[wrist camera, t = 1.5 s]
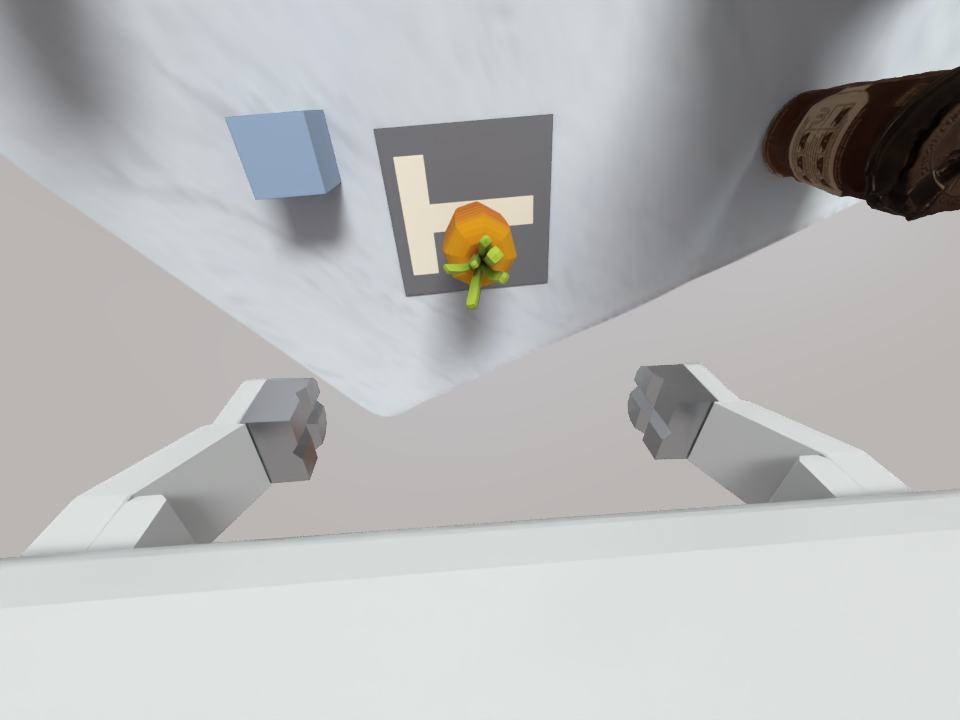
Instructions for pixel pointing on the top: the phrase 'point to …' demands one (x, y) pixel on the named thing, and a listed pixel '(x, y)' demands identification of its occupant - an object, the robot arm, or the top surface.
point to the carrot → (478, 248)
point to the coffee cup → (876, 142)
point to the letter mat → (467, 192)
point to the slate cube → (285, 153)
